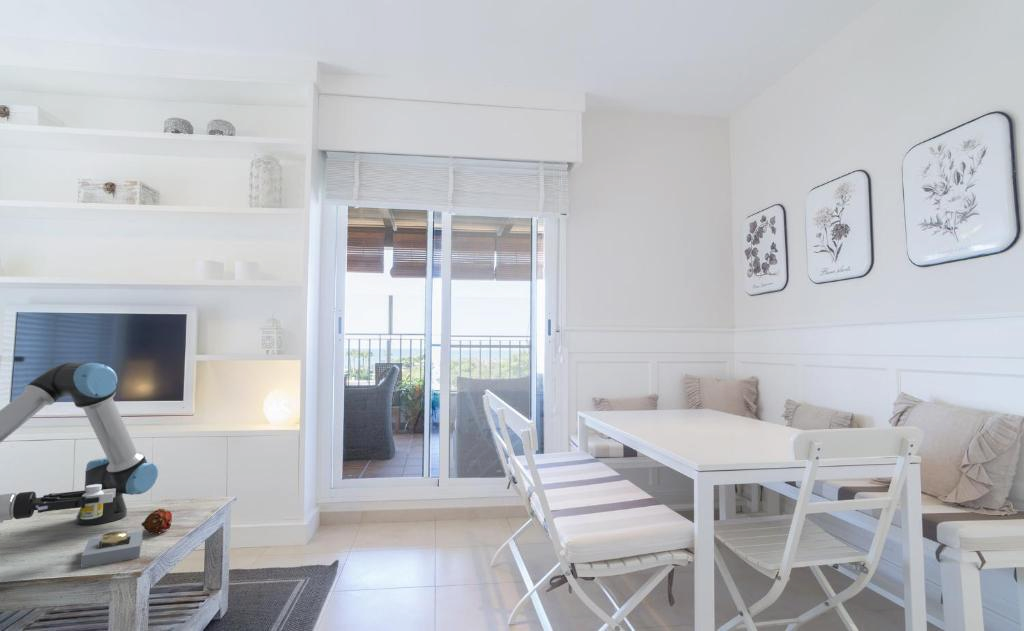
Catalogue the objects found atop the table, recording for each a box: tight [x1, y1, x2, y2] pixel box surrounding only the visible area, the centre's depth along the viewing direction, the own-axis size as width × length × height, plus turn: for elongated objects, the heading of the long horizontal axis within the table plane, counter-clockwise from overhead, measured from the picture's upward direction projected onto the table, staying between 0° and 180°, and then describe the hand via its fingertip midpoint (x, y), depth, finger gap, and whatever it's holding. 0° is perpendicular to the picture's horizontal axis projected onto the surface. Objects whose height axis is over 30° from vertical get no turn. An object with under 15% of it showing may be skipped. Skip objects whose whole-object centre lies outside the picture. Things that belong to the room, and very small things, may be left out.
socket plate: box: [80, 530, 144, 569], centre depth 159 cm, size 16×14×4 cm
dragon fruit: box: [141, 508, 173, 534], centre depth 179 cm, size 8×8×12 cm
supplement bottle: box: [80, 484, 104, 519], centre depth 159 cm, size 5×5×10 cm
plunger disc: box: [101, 530, 128, 546], centre depth 159 cm, size 6×6×2 cm
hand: (113, 495), depth 162 cm, fingers closed on supplement bottle, 5 cm apart
